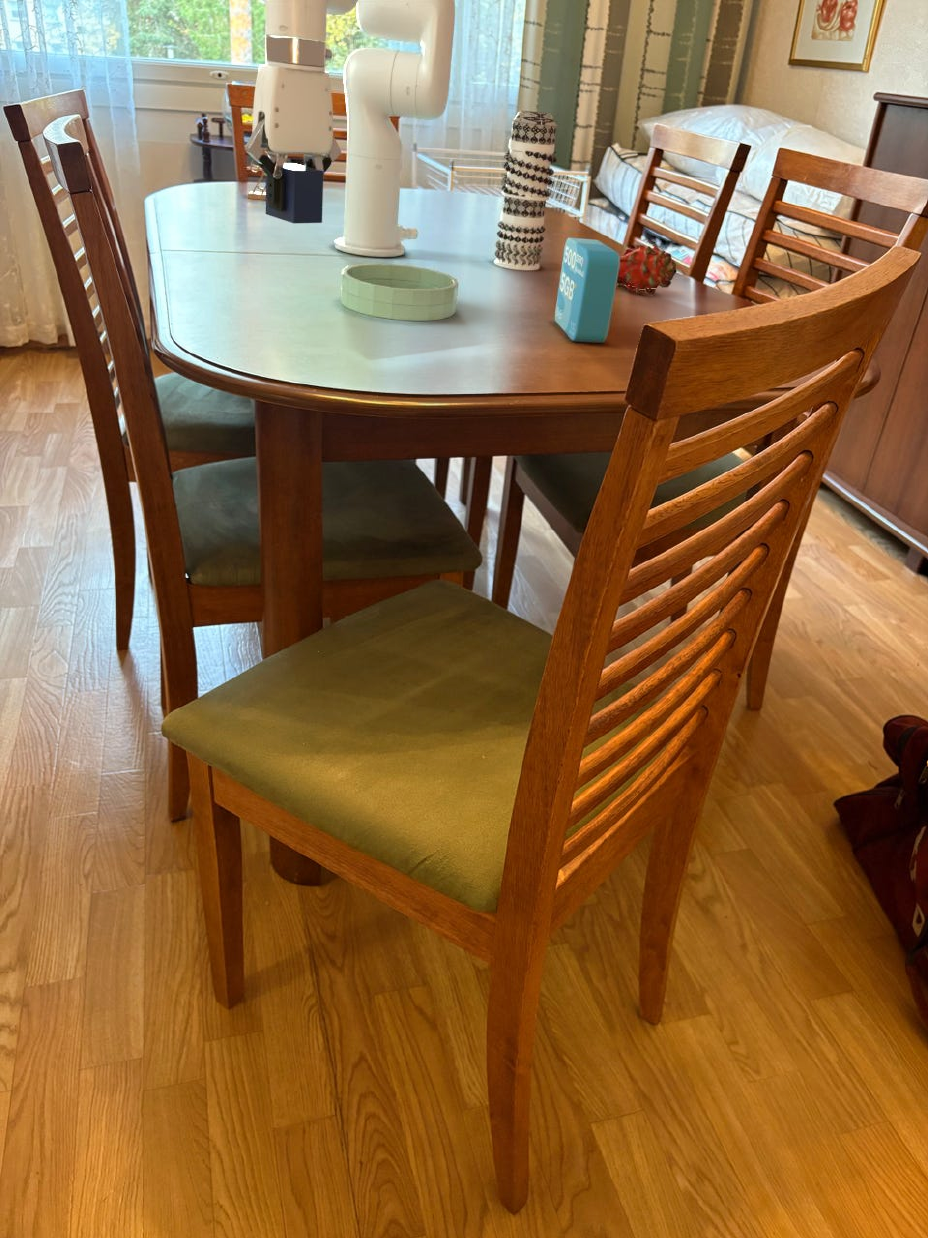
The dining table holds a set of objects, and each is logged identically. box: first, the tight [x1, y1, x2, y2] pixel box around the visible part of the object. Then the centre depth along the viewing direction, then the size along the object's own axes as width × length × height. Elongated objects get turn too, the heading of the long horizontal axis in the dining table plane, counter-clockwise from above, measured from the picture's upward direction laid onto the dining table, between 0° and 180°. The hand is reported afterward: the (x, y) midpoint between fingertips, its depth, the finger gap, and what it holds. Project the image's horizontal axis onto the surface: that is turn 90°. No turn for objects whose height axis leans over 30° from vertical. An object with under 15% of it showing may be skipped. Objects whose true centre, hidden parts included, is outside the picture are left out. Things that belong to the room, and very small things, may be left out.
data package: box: [554, 237, 620, 344], centre depth 133 cm, size 12×4×12 cm, turn 10°
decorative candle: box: [493, 110, 558, 271], centre depth 170 cm, size 9×9×25 cm
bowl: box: [340, 263, 459, 322], centre depth 137 cm, size 16×16×4 cm
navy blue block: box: [265, 162, 324, 224], centre depth 130 cm, size 5×7×6 cm, turn 42°
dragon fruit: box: [616, 243, 678, 295], centre depth 165 cm, size 8×8×12 cm
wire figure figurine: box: [247, 149, 289, 201], centre depth 210 cm, size 9×4×12 cm, turn 94°
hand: (293, 207), depth 131 cm, fingers closed on navy blue block, 4 cm apart
